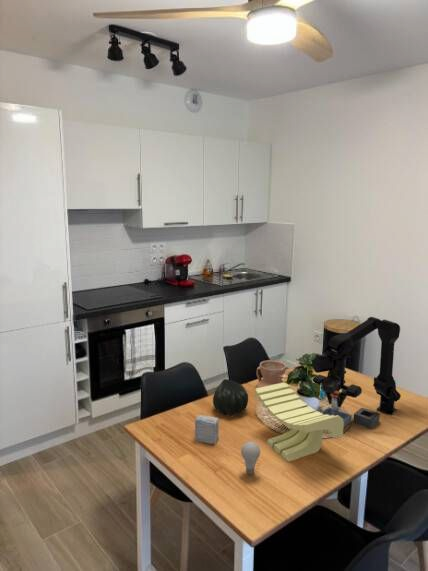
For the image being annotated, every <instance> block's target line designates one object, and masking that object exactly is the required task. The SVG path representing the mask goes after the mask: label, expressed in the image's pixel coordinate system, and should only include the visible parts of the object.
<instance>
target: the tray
mask: <svg viewBox="0 0 428 571" xmlns="http://www.w3.org/2000/svg"><path fill="white" fill-rule="evenodd" d="M320 413H322V414H324V415H326V414H327V415H329V416H330V415H331V406H330V407H329V406H328V407H326V408H325V409H323V410H322V411H321V412H320ZM338 416H340V417H341V418H342V419H343V421H344V427H345V426H346V425H347V426H348V425H349V424H351V423H352V421H353V420H352V418H353V415H352V414H350V413H347V412H345V411H341V410H339V411H338ZM350 422H351V423H350ZM347 426H346V427H347ZM344 427H343V429H345V428H346V427H345V428H344Z"/></svg>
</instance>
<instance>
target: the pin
mask: <svg viewBox="0 0 428 571" xmlns="http://www.w3.org/2000/svg"><path fill="white" fill-rule="evenodd" d="M341 392H342V391H340V390H339V391H335V392H334V393H330V396H331V397H332V399H331V404H330V408H331V415H334V416H337V415H338V411H340V410H339V399H340V396H339V393H341ZM331 415H330V416H331Z"/></svg>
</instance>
